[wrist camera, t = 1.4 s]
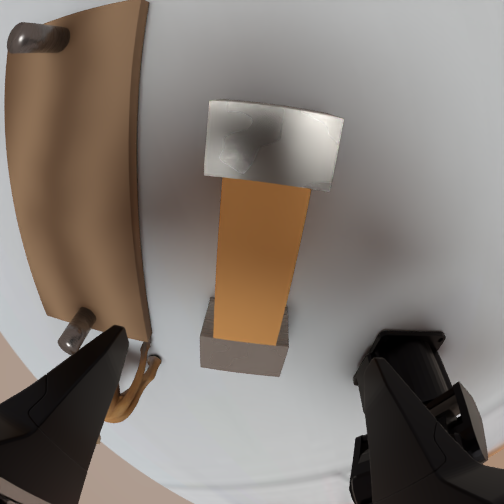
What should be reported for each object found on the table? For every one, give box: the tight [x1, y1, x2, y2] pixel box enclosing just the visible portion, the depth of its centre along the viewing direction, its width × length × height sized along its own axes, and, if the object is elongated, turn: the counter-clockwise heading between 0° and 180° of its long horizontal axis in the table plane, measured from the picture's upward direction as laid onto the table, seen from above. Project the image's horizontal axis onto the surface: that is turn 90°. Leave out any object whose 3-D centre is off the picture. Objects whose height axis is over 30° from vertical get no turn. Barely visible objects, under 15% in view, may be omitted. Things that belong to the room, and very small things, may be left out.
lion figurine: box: [96, 340, 161, 444], centre depth 20 cm, size 15×5×9 cm, turn 138°
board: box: [5, 0, 152, 355], centre depth 13 cm, size 10×22×4 cm, turn 174°
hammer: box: [200, 99, 344, 377], centre depth 15 cm, size 5×15×4 cm, turn 174°
